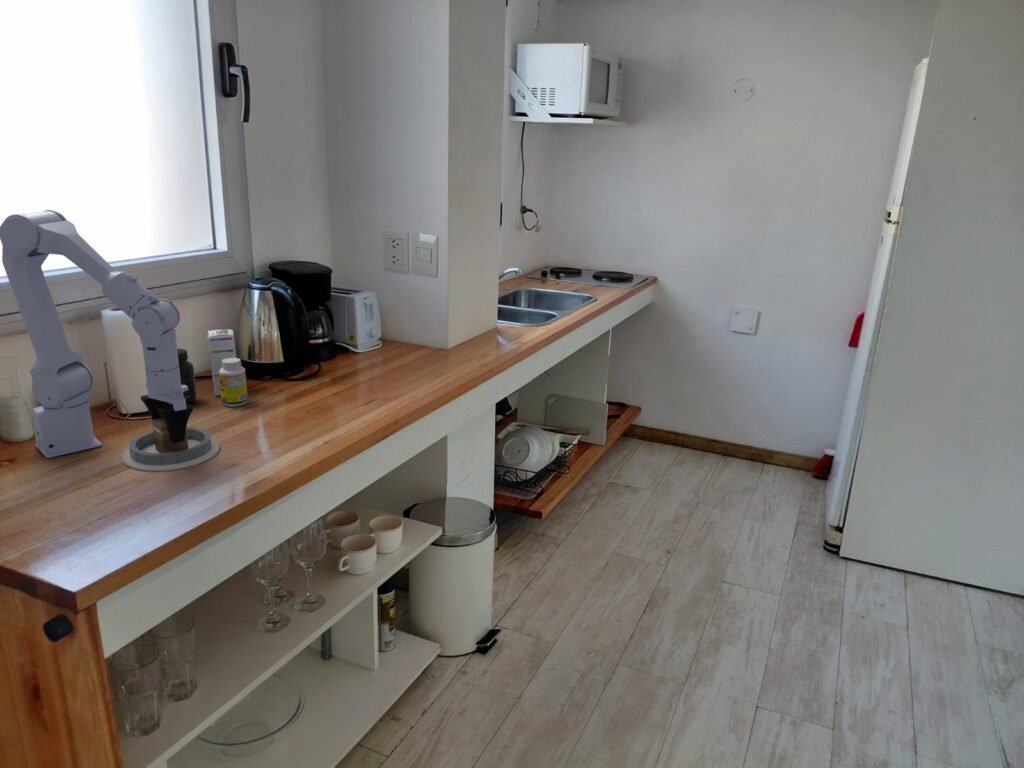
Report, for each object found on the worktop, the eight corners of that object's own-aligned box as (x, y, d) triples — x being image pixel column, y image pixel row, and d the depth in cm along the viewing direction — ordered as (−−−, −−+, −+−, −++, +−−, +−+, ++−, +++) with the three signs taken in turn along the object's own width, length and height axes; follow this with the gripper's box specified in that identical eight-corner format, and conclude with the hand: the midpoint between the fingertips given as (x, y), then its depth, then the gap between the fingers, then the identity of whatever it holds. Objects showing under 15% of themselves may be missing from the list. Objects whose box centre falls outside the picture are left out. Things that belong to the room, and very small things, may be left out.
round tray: (141, 479, 133) (139, 466, 132) (109, 450, 145) (107, 437, 144) (234, 455, 144) (233, 442, 144) (198, 429, 156) (197, 418, 155)
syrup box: (240, 394, 178) (235, 334, 173) (213, 396, 175) (207, 335, 171) (239, 386, 183) (234, 328, 178) (212, 389, 180) (207, 329, 176)
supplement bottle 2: (222, 400, 173) (218, 357, 170) (248, 398, 175) (244, 355, 172) (221, 408, 168) (217, 364, 165) (247, 406, 170) (244, 362, 167)
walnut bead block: (164, 456, 141) (160, 426, 140) (155, 449, 145) (151, 419, 143) (189, 450, 144) (185, 421, 143) (179, 443, 148) (176, 414, 146)
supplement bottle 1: (159, 401, 171) (153, 350, 167) (189, 395, 176) (184, 345, 172) (171, 409, 166) (165, 357, 163) (202, 403, 171) (197, 351, 167)
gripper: (199, 372, 137) (206, 442, 141) (169, 354, 147) (176, 420, 151) (159, 379, 132) (168, 451, 137) (131, 361, 142) (139, 428, 147)
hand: (170, 435), depth 144 cm, fingers open, 7 cm apart
